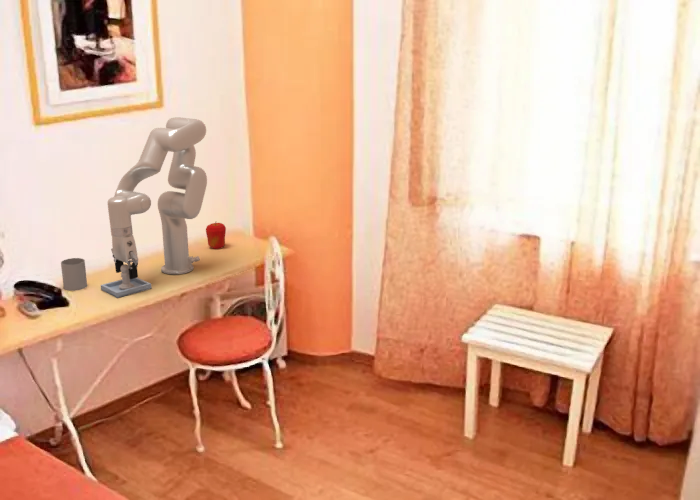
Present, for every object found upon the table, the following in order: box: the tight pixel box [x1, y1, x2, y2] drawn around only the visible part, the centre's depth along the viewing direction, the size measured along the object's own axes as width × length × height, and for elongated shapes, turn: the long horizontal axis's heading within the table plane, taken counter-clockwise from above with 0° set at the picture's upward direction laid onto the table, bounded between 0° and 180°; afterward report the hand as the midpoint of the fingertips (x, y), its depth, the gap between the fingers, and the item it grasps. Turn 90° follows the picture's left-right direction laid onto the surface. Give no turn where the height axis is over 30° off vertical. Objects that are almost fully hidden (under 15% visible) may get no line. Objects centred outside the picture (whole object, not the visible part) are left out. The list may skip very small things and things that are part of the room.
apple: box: [205, 221, 227, 250], centre depth 349 cm, size 9×8×12 cm
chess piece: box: [119, 263, 134, 290], centre depth 299 cm, size 5×5×9 cm
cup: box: [60, 257, 88, 292], centre depth 302 cm, size 8×8×10 cm
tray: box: [100, 277, 153, 299], centre depth 300 cm, size 14×12×2 cm
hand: (126, 274), depth 299 cm, fingers open, 9 cm apart
